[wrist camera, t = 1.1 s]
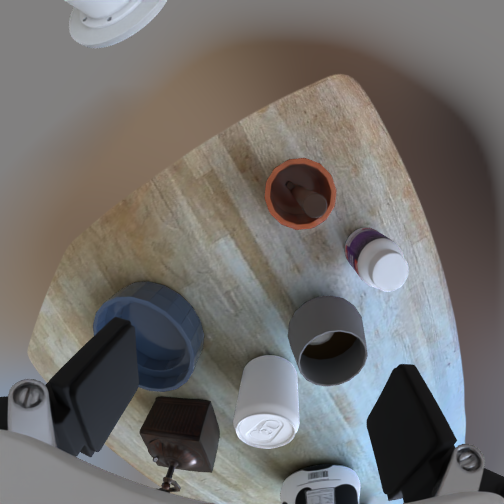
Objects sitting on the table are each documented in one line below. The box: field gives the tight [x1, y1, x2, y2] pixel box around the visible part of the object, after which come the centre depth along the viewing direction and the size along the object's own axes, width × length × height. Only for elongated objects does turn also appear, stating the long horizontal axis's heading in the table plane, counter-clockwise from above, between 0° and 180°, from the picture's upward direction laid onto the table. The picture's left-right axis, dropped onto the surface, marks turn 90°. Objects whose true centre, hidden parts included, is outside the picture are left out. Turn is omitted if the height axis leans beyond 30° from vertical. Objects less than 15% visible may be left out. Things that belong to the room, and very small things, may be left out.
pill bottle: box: [345, 228, 409, 292], centre depth 30 cm, size 5×5×10 cm
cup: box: [288, 296, 367, 386], centre depth 33 cm, size 10×9×10 cm
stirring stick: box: [285, 181, 327, 218], centre depth 24 cm, size 3×1×18 cm, turn 53°
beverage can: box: [233, 355, 299, 449], centre depth 35 cm, size 8×8×12 cm
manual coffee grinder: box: [140, 397, 220, 493], centre depth 37 cm, size 16×11×18 cm
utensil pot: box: [264, 158, 336, 230], centre depth 30 cm, size 7×7×8 cm
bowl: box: [93, 282, 204, 392], centre depth 38 cm, size 15×15×6 cm
